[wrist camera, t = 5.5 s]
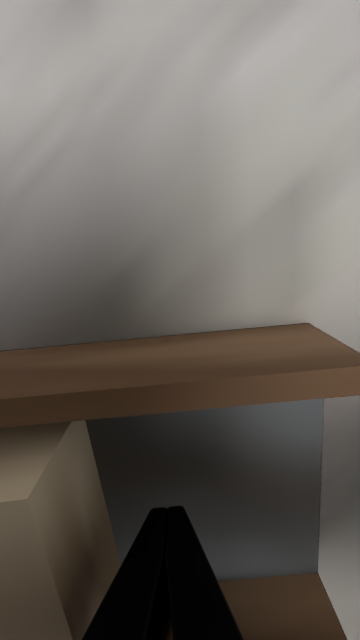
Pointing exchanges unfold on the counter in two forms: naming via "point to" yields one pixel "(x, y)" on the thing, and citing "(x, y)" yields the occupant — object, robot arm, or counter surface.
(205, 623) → the robot arm
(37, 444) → the tan wooden brick
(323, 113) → the counter surface
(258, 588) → the brown wooden tray
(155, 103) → the counter surface
